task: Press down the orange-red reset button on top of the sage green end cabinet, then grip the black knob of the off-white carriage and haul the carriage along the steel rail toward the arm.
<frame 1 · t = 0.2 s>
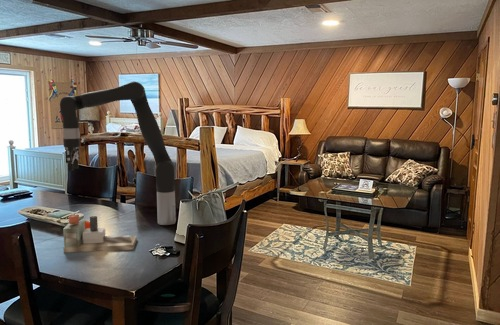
hand: (73, 169, 190), 29 cm above the table, fingers open, 8 cm apart
clementine: (85, 235, 182), on the table
reset button: (74, 219, 164), point 12 cm above the table, slide at 0.0 cm
rail base: (102, 245, 168), on the table
carriage: (94, 229, 166), point 8 cm above the table, slide at 0.0 cm
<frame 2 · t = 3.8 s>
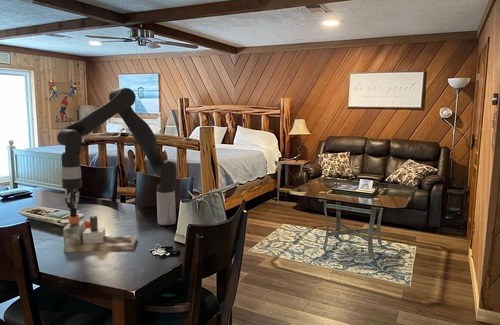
hand: (73, 216, 164), 14 cm above the table, fingers closed
reset button: (74, 219, 164), point 12 cm above the table, slide at 0.2 cm, touching gripper
everything else where it was.
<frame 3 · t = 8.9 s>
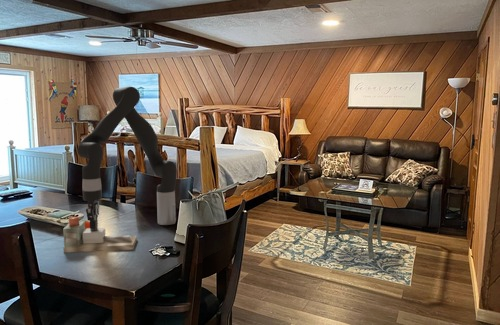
hand: (93, 227, 166), 9 cm above the table, fingers closed on carriage, 3 cm apart
reset button: (74, 221, 164), point 12 cm above the table, slide at 0.9 cm
carriage: (94, 229, 166), point 8 cm above the table, slide at 0.0 cm, touching gripper
everything else where it was.
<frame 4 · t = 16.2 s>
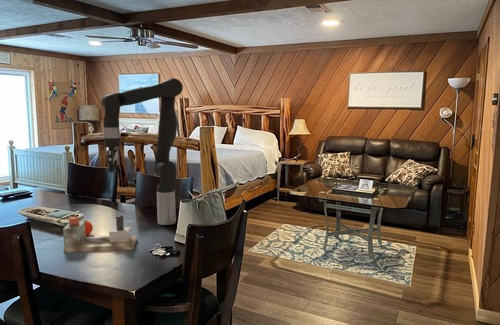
hand: (113, 170, 184), 30 cm above the table, fingers open, 8 cm apart
carriage: (120, 228, 168), point 8 cm above the table, slide at 10.9 cm
everything else where it was.
at the end: reset button slide at 0.9 cm; carriage slide at 10.9 cm; the gripper is holding nothing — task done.
